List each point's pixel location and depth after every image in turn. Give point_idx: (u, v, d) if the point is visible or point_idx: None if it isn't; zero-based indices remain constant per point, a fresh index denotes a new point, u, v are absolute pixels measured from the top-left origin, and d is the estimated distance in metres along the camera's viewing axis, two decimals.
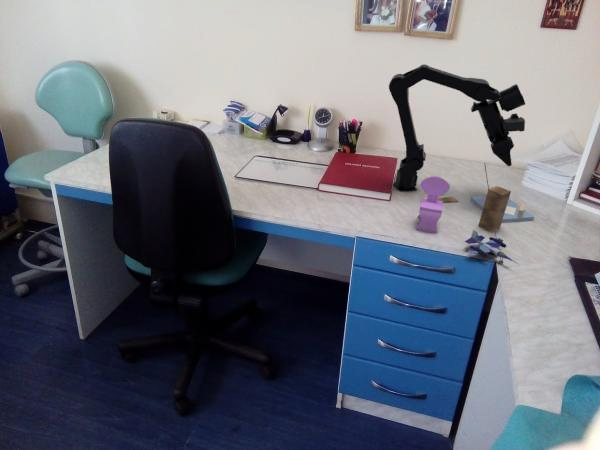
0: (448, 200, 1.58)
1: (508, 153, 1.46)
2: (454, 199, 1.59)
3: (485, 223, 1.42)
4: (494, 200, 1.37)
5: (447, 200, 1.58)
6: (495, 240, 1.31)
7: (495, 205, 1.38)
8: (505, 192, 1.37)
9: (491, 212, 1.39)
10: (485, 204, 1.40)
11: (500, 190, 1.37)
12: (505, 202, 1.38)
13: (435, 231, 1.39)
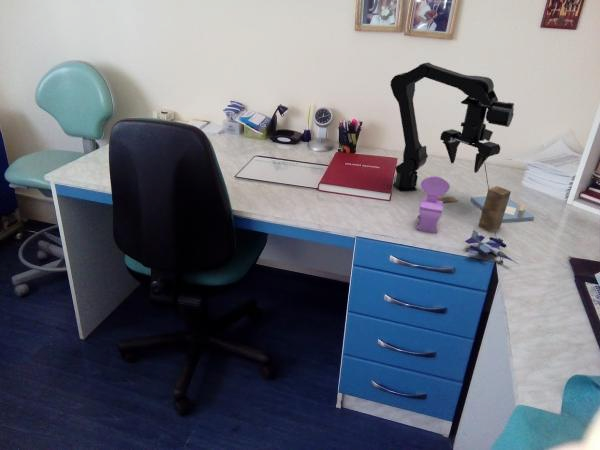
0: (448, 200, 1.58)
1: (484, 159, 1.45)
2: (454, 199, 1.59)
3: (485, 223, 1.42)
4: (494, 200, 1.37)
5: (447, 200, 1.58)
6: (495, 240, 1.31)
7: (495, 205, 1.38)
8: (505, 192, 1.37)
9: (491, 212, 1.39)
10: (485, 204, 1.40)
11: (500, 190, 1.37)
12: (505, 202, 1.38)
13: (435, 231, 1.39)
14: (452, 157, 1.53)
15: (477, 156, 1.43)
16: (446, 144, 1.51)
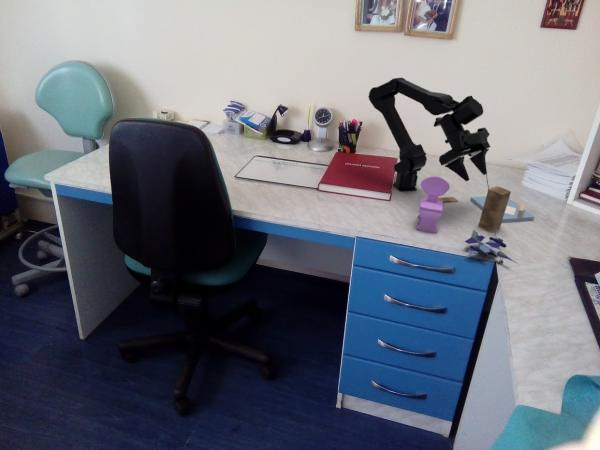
0: (448, 200, 1.58)
1: (460, 166, 1.39)
2: (454, 199, 1.59)
3: (485, 223, 1.42)
4: (494, 200, 1.37)
5: (447, 200, 1.58)
6: (495, 240, 1.31)
7: (495, 205, 1.38)
8: (505, 192, 1.37)
9: (491, 212, 1.39)
10: (485, 204, 1.40)
11: (500, 190, 1.37)
12: (505, 202, 1.38)
13: (435, 231, 1.39)
14: (480, 169, 1.46)
15: None
16: None
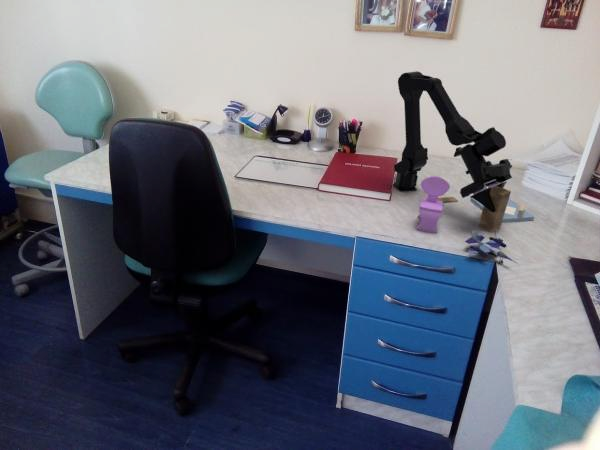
0: (448, 200, 1.58)
1: (486, 197, 1.37)
2: (454, 199, 1.59)
3: (485, 223, 1.42)
4: (494, 200, 1.37)
5: (447, 200, 1.58)
6: (495, 240, 1.31)
7: (495, 205, 1.38)
8: (505, 192, 1.37)
9: (491, 212, 1.39)
10: None
11: (500, 190, 1.37)
12: (505, 202, 1.38)
13: (435, 231, 1.39)
14: None
15: None
16: None
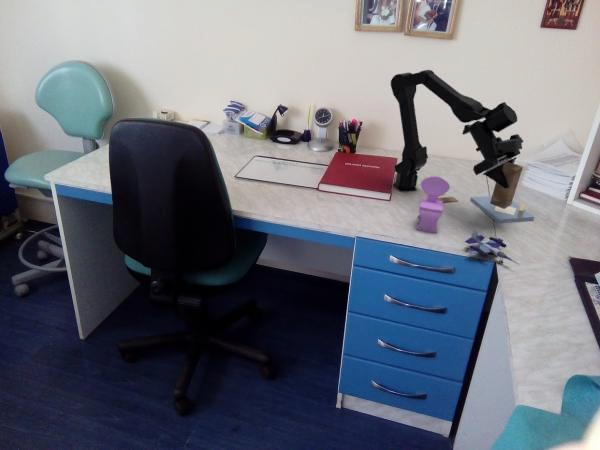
0: (448, 200, 1.58)
1: (499, 173, 1.36)
2: (454, 199, 1.59)
3: (498, 200, 1.40)
4: (507, 176, 1.36)
5: (447, 200, 1.58)
6: (495, 240, 1.31)
7: (508, 181, 1.36)
8: (517, 167, 1.36)
9: (504, 188, 1.38)
10: None
11: (512, 166, 1.36)
12: (517, 178, 1.37)
13: (435, 231, 1.39)
14: None
15: None
16: None
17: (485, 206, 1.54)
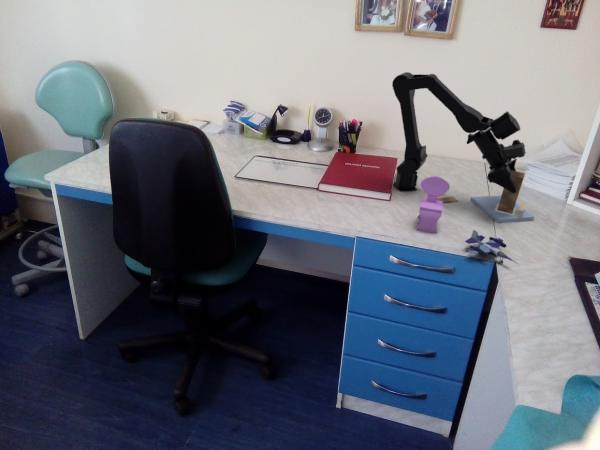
0: (448, 200, 1.58)
1: (508, 180, 1.43)
2: (454, 199, 1.59)
3: (505, 206, 1.50)
4: (514, 184, 1.46)
5: (447, 200, 1.58)
6: (495, 240, 1.31)
7: (516, 188, 1.46)
8: (522, 174, 1.46)
9: (511, 195, 1.48)
10: (504, 189, 1.48)
11: (517, 174, 1.46)
12: None
13: (435, 231, 1.39)
14: None
15: None
16: None
17: (485, 206, 1.54)
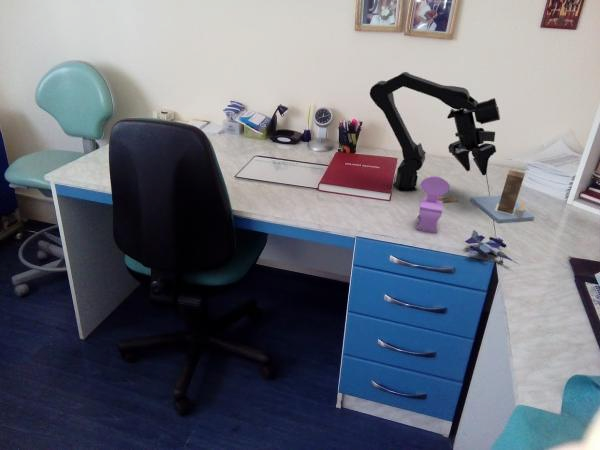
0: (448, 200, 1.58)
1: (486, 161, 1.48)
2: (454, 199, 1.59)
3: (505, 206, 1.50)
4: (514, 184, 1.46)
5: (447, 200, 1.58)
6: (495, 240, 1.31)
7: (516, 188, 1.46)
8: (521, 174, 1.46)
9: (511, 195, 1.48)
10: (504, 189, 1.48)
11: (517, 174, 1.46)
12: None
13: (435, 231, 1.39)
14: (465, 165, 1.58)
15: (474, 160, 1.47)
16: (454, 155, 1.58)
17: (485, 206, 1.54)
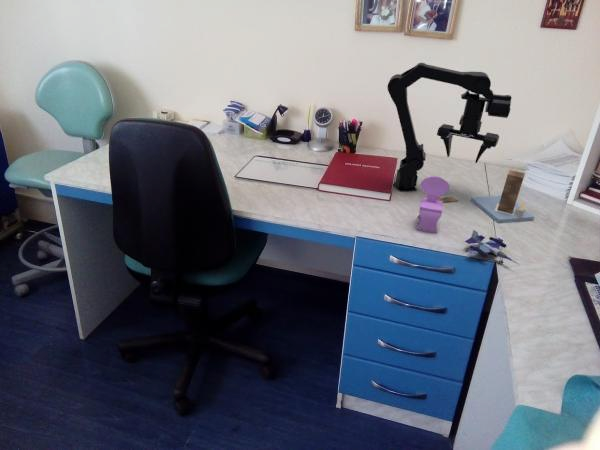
0: (448, 200, 1.58)
1: None
2: (454, 199, 1.59)
3: (505, 206, 1.50)
4: (514, 184, 1.46)
5: (447, 200, 1.58)
6: (495, 240, 1.31)
7: (516, 188, 1.46)
8: (521, 174, 1.46)
9: (511, 195, 1.48)
10: (504, 189, 1.48)
11: (517, 174, 1.46)
12: None
13: (435, 231, 1.39)
14: (449, 151, 1.57)
15: (482, 147, 1.50)
16: (445, 139, 1.54)
17: (485, 206, 1.54)
